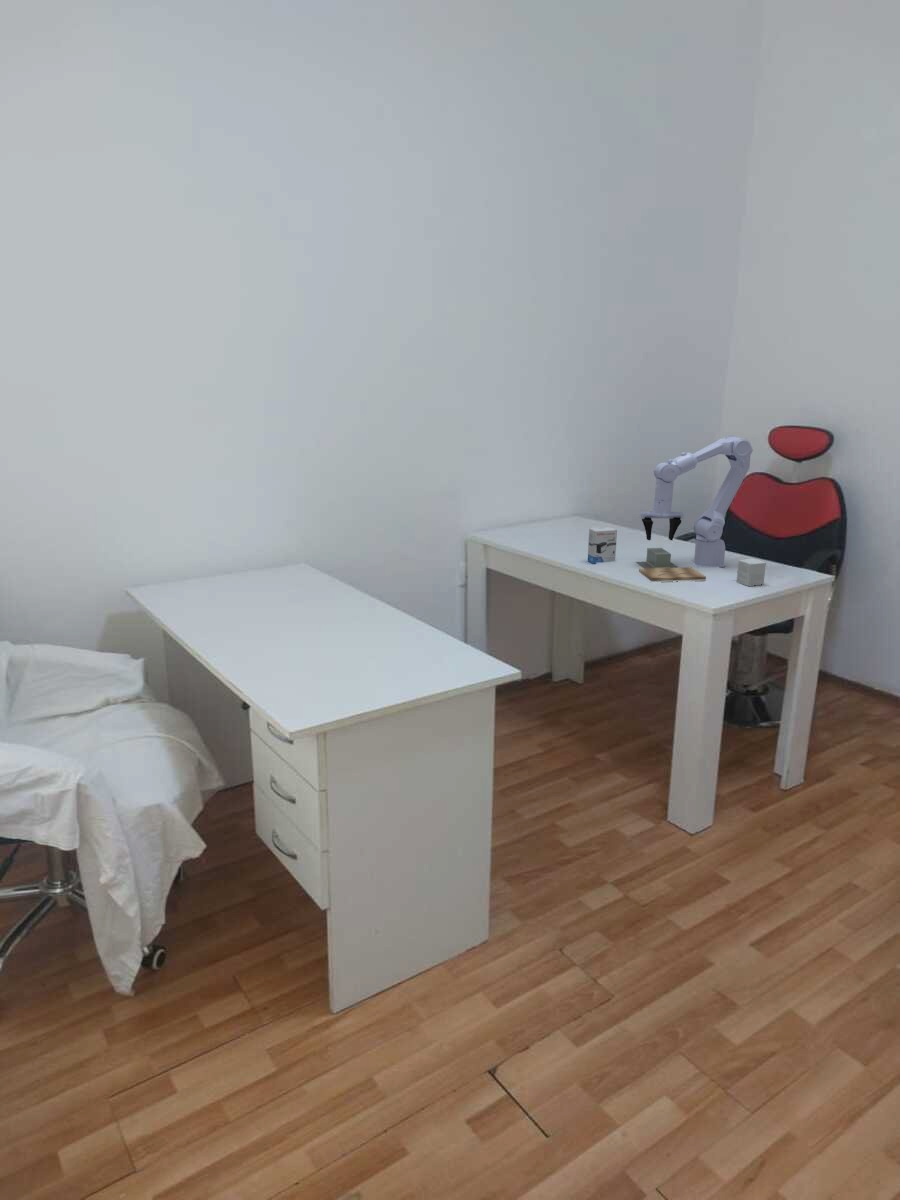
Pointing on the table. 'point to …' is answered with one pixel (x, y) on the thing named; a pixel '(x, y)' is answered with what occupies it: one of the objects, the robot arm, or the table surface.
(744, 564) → the product box
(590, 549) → the ink box
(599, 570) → the table surface
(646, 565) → the rubber mat
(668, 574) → the oak board
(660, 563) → the block
